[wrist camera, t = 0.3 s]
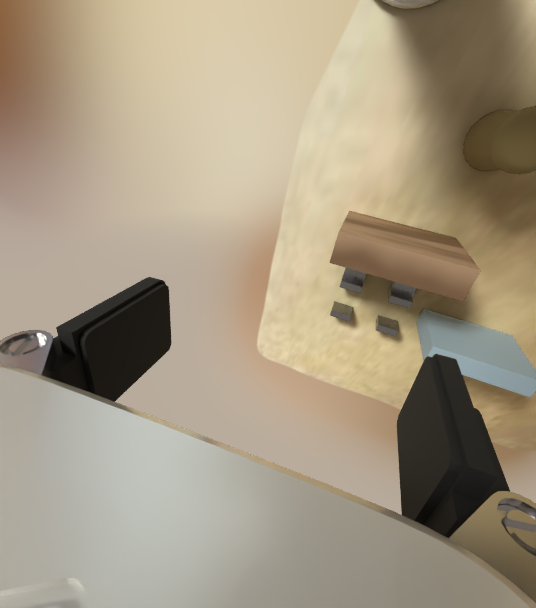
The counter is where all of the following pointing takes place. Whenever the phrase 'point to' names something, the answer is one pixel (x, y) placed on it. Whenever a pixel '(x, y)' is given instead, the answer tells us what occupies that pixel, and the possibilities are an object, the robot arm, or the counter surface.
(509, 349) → the block
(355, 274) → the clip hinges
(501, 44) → the counter surface
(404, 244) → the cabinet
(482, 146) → the brown rounded elongated piece
